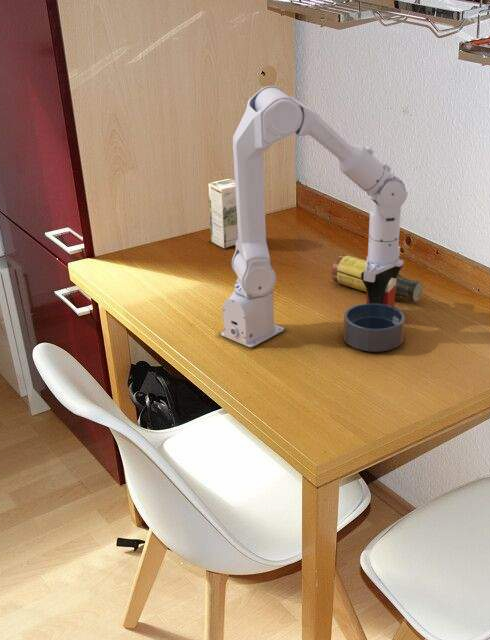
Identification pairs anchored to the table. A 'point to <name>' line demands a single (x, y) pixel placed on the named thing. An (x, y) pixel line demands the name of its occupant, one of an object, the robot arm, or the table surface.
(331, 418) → the table surface
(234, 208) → the syrup box
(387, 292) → the red block
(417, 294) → the sauce bottle
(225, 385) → the table surface
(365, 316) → the bowl
